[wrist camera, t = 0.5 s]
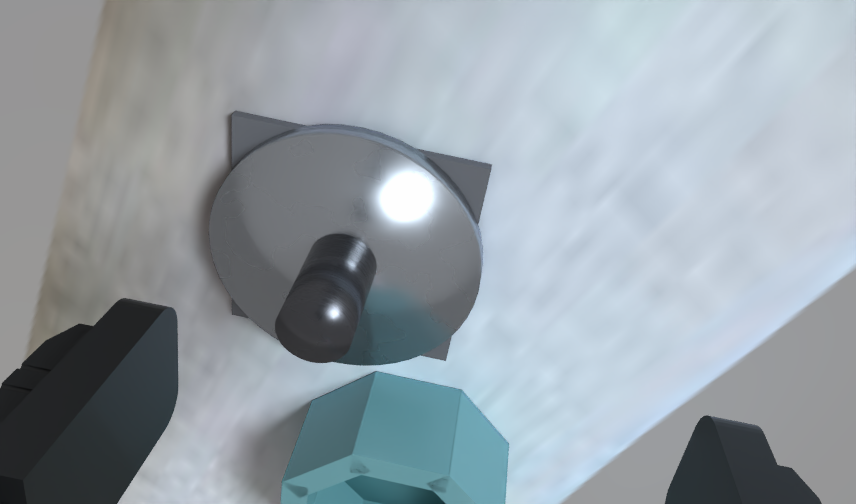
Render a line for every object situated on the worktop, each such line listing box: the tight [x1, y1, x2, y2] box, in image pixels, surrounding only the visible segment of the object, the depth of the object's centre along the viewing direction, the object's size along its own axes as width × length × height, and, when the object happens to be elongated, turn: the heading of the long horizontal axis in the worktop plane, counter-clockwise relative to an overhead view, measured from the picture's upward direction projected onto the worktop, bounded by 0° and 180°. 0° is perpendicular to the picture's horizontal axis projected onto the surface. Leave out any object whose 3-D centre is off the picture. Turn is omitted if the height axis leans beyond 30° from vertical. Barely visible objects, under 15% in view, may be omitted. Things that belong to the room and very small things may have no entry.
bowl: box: [281, 371, 509, 504], centre depth 35 cm, size 10×10×5 cm
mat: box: [232, 111, 492, 361], centre depth 30 cm, size 10×10×1 cm
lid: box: [209, 124, 483, 365], centre depth 28 cm, size 11×11×5 cm
